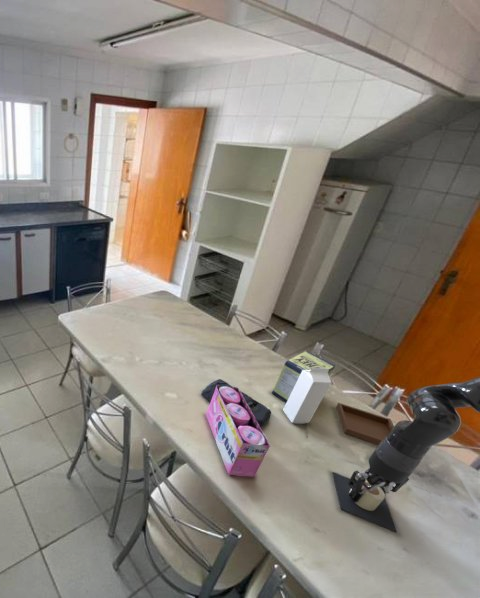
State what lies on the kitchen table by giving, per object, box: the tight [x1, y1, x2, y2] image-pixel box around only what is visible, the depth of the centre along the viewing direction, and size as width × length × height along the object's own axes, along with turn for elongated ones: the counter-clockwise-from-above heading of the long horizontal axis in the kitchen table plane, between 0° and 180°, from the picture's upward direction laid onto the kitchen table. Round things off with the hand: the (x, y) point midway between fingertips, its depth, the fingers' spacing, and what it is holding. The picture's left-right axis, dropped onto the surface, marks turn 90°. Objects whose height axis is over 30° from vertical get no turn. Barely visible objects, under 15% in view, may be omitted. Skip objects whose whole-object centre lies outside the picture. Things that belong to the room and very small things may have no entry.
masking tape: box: [349, 480, 386, 511], centre depth 89 cm, size 6×6×5 cm
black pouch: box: [200, 378, 272, 427], centre depth 119 cm, size 15×22×5 cm
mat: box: [331, 472, 398, 533], centre depth 90 cm, size 12×12×1 cm
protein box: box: [271, 350, 336, 404], centre depth 123 cm, size 10×16×16 cm
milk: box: [282, 368, 332, 425], centre depth 111 cm, size 6×6×22 cm
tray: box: [335, 402, 395, 446], centre depth 113 cm, size 16×14×3 cm
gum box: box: [205, 385, 271, 478], centre depth 102 cm, size 24×8×14 cm, turn 178°
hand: (363, 498), depth 90 cm, fingers closed on masking tape, 6 cm apart
